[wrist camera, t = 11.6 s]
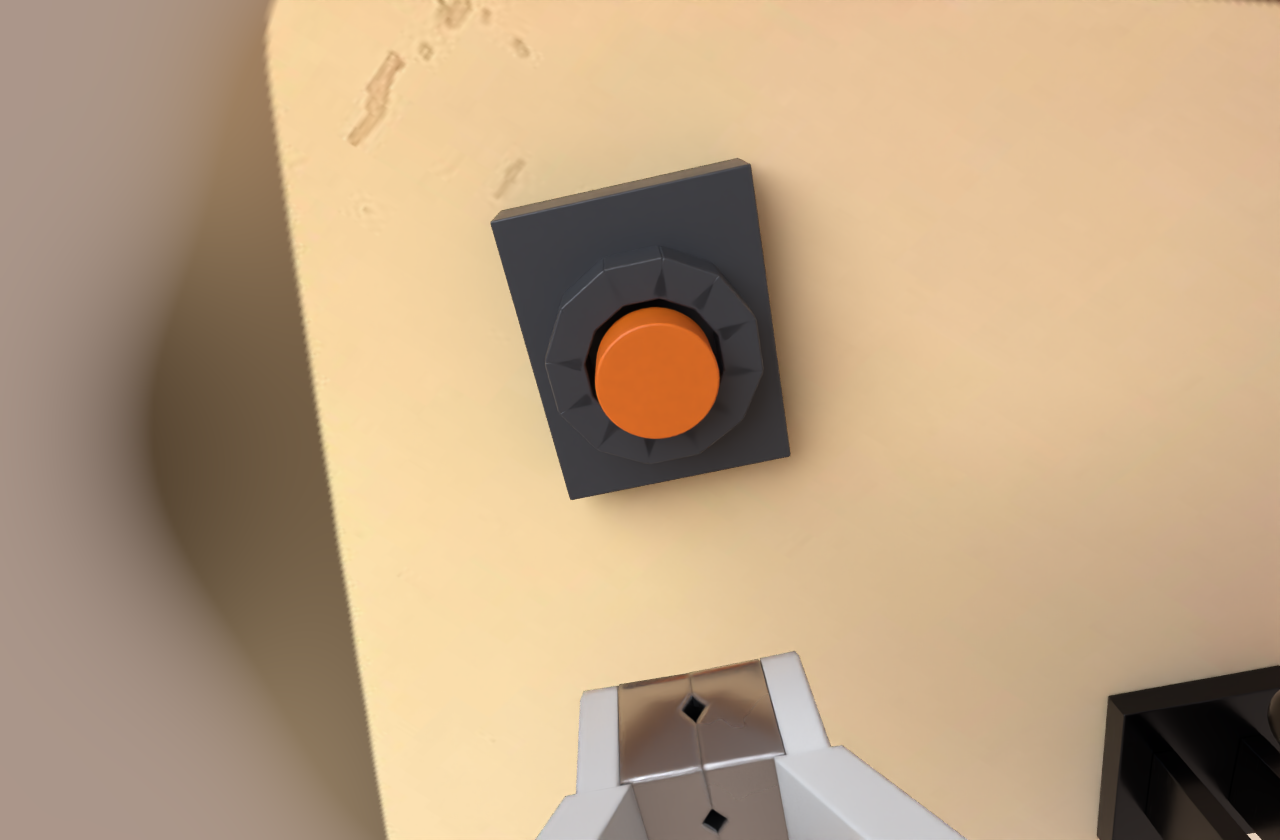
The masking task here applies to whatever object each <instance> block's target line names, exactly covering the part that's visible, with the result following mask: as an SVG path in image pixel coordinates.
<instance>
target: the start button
mask: <svg viewBox="0 0 1280 840" xmlns="http://www.w3.org/2000/svg"><path fill="white" fill-rule="evenodd" d="M719 382H720V376H719V368H718V364H717V361H716V358H715V356H714V353H713V351H712V348H711V346H710V343H709V341H708V338H707V337H706V335H705V333H704V331H703V330H702V329H701V328H700V326H699V325H698V324H697V323H696V322H695V321H693V320H692V319H691V318H689V317H688V316H686V315H684V314H683V313H681V312H678V311H675V310H672V309H668V308H661V307H649V308H643V309H639V310H636V311H633V312H631V313H628V314H626V315H625V316H623V317H621V318H620V319H619V320H617V321H616V322H615V323H614V324H613V325H612V326H611V327H610V328H609V329H608V331H607V332H606V333H605V335H604V337H603V338H602V340H601V343H600V345H599V348H598V352H597V358H596V372H595V389H596V394H597V398H598V401H599V403H600V405H601V407H602V409H603V411H604V412H605V414H606V415H607V416H608V418H609V419H610V420H611V421H612V422H613V423H614V424H616V425H617V426H618V427H620V428H621V429H623V430H624V431H626V432H628V433H630V434H633V435H636V436H639V437H643V438H650V439H662V438H669V437H673V436H677V435H679V434H682V433H684V432H686V431H688V430H690V429H691V428H693V427H694V426H696V425H697V424H698V423H699V422H700V421H701V420H703V419H704V417H705V416H706V415H707V414H708V413H709V411H710V409H711V408H712V406H713V404H714V402H715V400H716V397H717V394H718V390H719Z"/></svg>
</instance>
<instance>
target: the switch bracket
mask: <svg viewBox="0 0 1280 840" xmlns="http://www.w3.org/2000/svg"><path fill="white" fill-rule="evenodd" d="M1279 690H1280V666H1274V667H1269V668H1263V669H1258V670H1252V671H1246V672H1241V673H1235V674H1230V675H1224V676H1218V677H1213V678H1207V679H1202V680H1196V681H1190V682H1185V683H1179V684H1174V685H1168V686H1163V687H1157V688H1151V689H1146V690H1140V691H1135V692H1129V693H1123V694H1118V695H1112V696H1109V697H1108V709H1107V721H1106V733H1105V745H1104V757H1103V769H1102V781H1101V792H1100V804H1099V816H1098V828H1097V836H1098V838H1099V840H1251V839H1250V838H1249V837H1248V835H1247V834H1250V833H1256V834H1257V835H1258V836H1259V837H1260V838H1261V839H1262V840H1280V745H1279V743H1278V742H1277V740H1276V739H1275V737H1274V736H1273V734H1272V732H1271V730H1270V727H1269V723H1268V716H1267V714H1268V707H1269V704H1270V701H1271V699H1272V698H1273V696H1274V695H1275V694H1276V693H1277V692H1278V691H1279Z"/></svg>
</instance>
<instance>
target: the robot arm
mask: <svg viewBox="0 0 1280 840" xmlns="http://www.w3.org/2000/svg"><path fill="white" fill-rule="evenodd" d="M535 840H968V839H966V838H965V837H964V836H962V835H961V834H960V833H958V832H957V831H956V830H954V829H953V828H952V827H950V826H949V825H948V824H946V823H945V822H944V821H942V820H941V819H940V818H938V817H937V816H936V815H934V814H933V813H932V812H930V811H929V810H928V809H926V808H925V807H924V806H922V805H921V804H920V803H919V802H917V801H916V800H915V799H913V798H912V797H911V796H909V795H908V794H907V793H905V792H904V791H903V790H901V789H900V788H899V787H897V786H896V785H895V784H893V783H892V782H891V781H889V780H888V779H887V778H885V777H884V776H883V775H881V774H880V773H879V772H877V771H876V770H875V769H873V768H872V767H871V766H870V765H868V764H867V763H866V762H864V761H863V760H862V759H860V758H859V757H858V756H856V755H855V754H854V753H852V752H851V751H850V750H848V749H847V748H846V747H844V746H843V745H840V746H834V747H831V745H830V742H829V740H828V737H827V734H826V731H825V728H824V725H823V722H822V720H821V717H820V714H819V711H818V708H817V705H816V702H815V700H814V697H813V694H812V691H811V688H810V685H809V682H808V680H807V677H806V674H805V671H804V668H803V665H802V663H801V660H800V657H799V655H798V654H797V653H796V652H795V651H792V652H787V653H783V654H778V655H773V656H768V657H763V658H760V661H759V659H755V660H750V661H745V662H740V663H735V664H730V665H725V666H720V667H715V668H710V669H705V670H700V671H695V672H690V673H686V674H680V675H674V676H668V677H662V678H656V679H650V680H644V681H637V682H631V683H625V684H619V686H613V687H607V688H600V689H594V690H587V691H583V694H582V697H581V700H580V716H579V739H578V761H577V784H576V794H573V795H568V796H565V797H564V798H563V800H562V801H561V803H560V804H559V806H558V807H557V809H556V810H555V812H554V813H553V814H552V816H551V817H550V819H549V820H548V822H547V823H546V825H545V826H544V828H543V829H542V830H541V832H540V833H539V835H538V836H537V838H536V839H535Z"/></svg>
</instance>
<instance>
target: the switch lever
mask: <svg viewBox="0 0 1280 840" xmlns="http://www.w3.org/2000/svg"><path fill="white" fill-rule="evenodd" d="M1267 716H1268V723H1269V727H1270V730H1271V732H1272V734H1273V736H1274V737H1275V739H1276V740H1277V742H1278V743H1279V745H1280V690H1279V691H1278V692H1277V693H1276V694H1275V695H1274V696H1273V698H1272V699H1271V701H1270V704H1269V707H1268V714H1267Z"/></svg>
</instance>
